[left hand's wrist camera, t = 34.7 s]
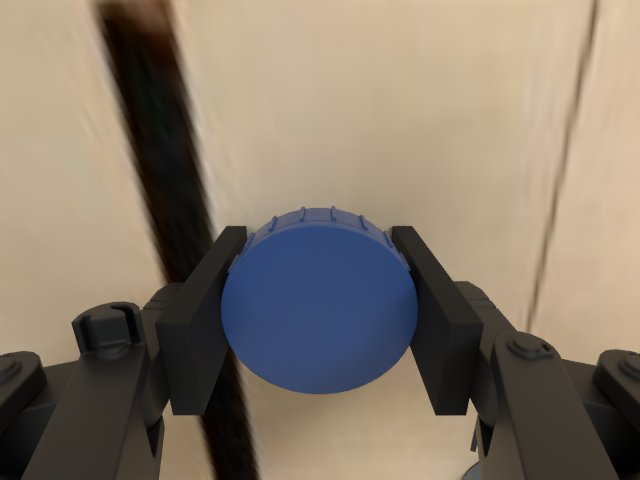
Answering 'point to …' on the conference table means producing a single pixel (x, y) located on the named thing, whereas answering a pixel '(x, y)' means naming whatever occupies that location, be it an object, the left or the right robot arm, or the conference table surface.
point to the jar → (473, 473)
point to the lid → (319, 302)
